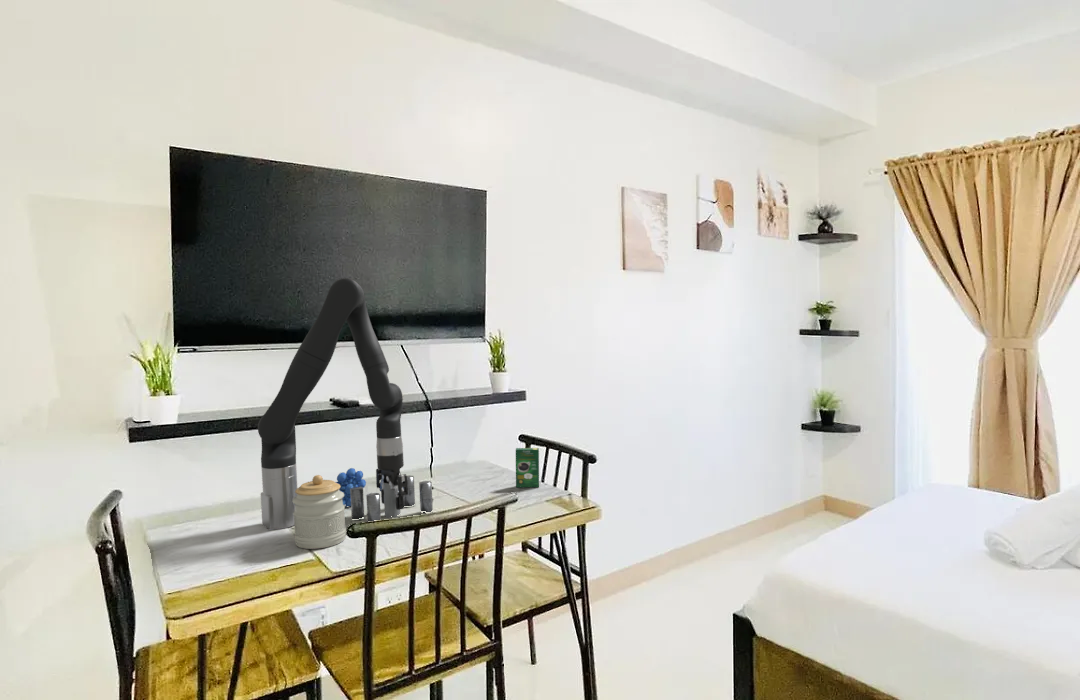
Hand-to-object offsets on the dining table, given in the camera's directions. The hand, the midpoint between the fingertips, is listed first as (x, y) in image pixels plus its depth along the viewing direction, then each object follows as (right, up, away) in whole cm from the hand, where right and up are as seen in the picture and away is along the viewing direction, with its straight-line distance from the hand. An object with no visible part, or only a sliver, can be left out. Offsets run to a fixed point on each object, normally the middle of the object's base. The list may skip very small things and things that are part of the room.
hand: (392, 506), depth 190 cm
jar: (-14, -5, -20) cm, 25 cm away
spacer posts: (0, -3, 0) cm, 3 cm away
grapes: (-16, -3, +11) cm, 20 cm away
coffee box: (+39, 0, +26) cm, 47 cm away
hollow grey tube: (0, -3, 0) cm, 3 cm away
